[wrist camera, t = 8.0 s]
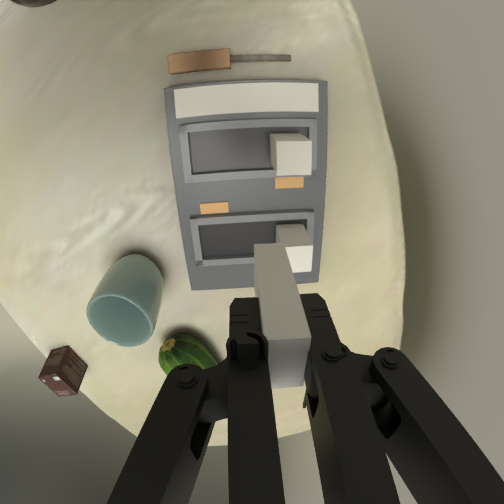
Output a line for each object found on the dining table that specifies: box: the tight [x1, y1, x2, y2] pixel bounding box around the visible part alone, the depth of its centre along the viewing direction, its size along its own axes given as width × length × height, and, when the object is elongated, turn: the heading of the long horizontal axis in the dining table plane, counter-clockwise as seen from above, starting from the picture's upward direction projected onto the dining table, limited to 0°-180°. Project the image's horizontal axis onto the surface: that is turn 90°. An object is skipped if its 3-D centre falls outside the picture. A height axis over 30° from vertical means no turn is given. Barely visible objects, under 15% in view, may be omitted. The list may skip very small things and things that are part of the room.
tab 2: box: [276, 223, 313, 273], centre depth 31 cm, size 3×3×5 cm
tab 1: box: [270, 133, 312, 176], centre depth 26 cm, size 3×3×5 cm
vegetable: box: [159, 334, 218, 375], centre depth 45 cm, size 7×7×20 cm
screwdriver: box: [168, 49, 291, 75], centre depth 25 cm, size 12×2×2 cm, turn 92°
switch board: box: [164, 80, 328, 290], centre depth 32 cm, size 24×16×3 cm, turn 2°
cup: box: [86, 254, 163, 347], centre depth 33 cm, size 8×8×10 cm
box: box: [39, 346, 88, 396], centre depth 44 cm, size 6×6×7 cm
